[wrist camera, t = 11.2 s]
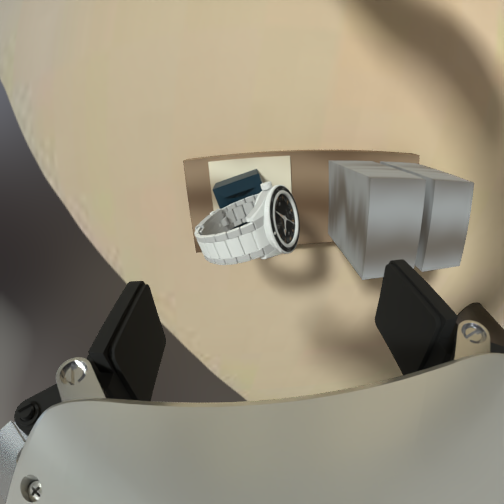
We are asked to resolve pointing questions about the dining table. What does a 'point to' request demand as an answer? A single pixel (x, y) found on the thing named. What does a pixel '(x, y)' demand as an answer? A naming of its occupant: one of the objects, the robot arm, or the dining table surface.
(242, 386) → the dining table surface
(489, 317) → the pillar candle
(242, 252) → the watch
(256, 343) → the dining table surface
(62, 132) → the dining table surface
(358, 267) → the wood and grey tray
